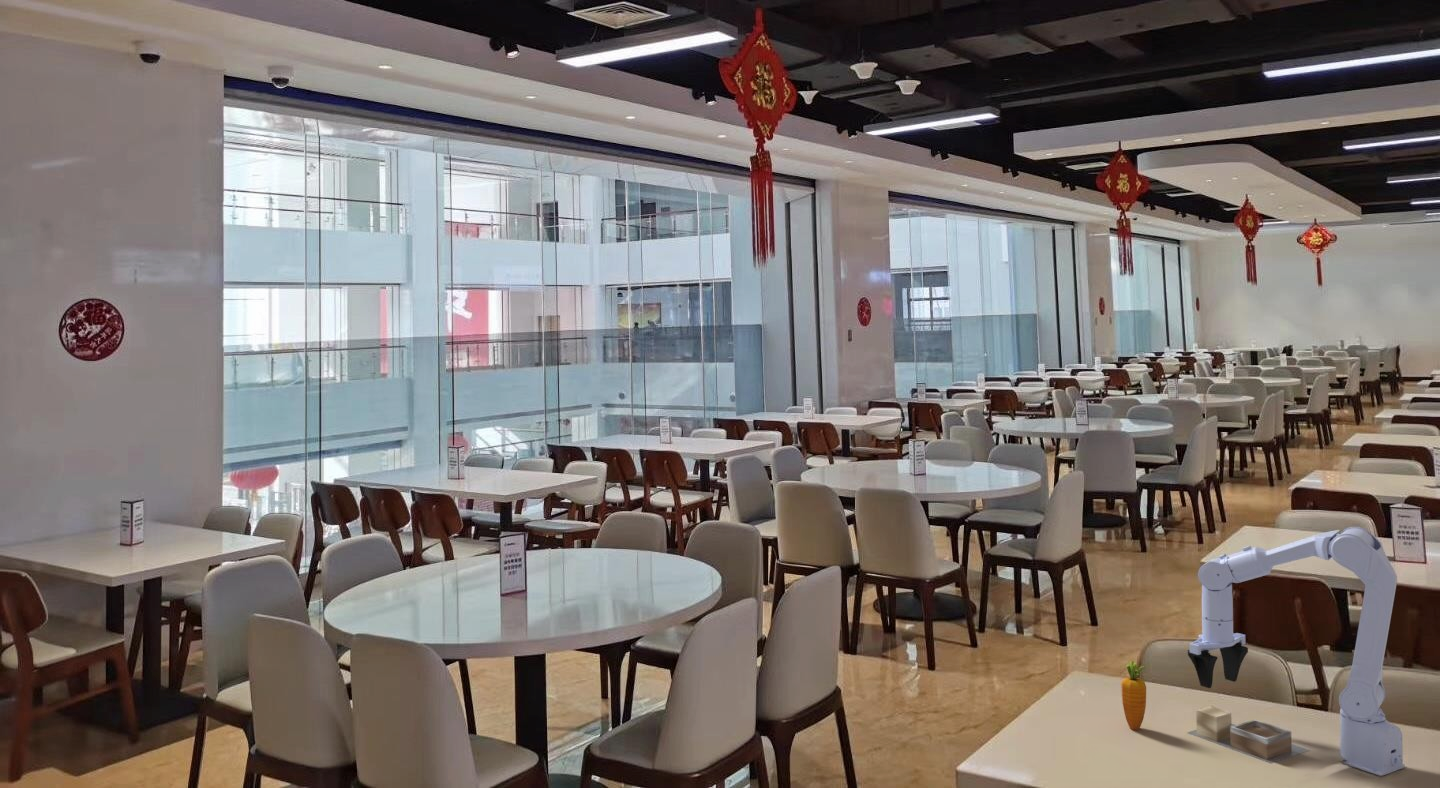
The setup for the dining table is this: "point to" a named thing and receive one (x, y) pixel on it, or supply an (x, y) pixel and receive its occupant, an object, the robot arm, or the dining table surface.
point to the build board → (1227, 743)
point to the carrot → (1134, 697)
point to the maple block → (1213, 723)
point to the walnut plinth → (1261, 739)
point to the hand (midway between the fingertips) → (1218, 683)
